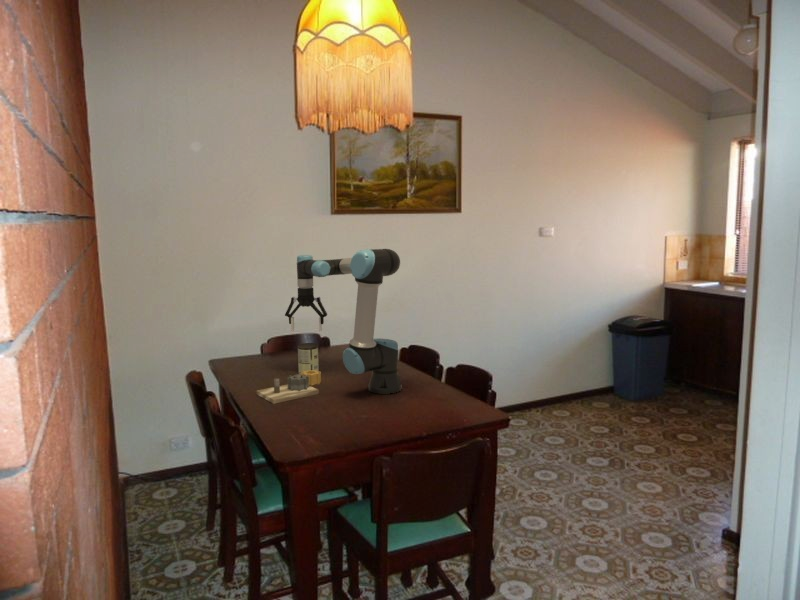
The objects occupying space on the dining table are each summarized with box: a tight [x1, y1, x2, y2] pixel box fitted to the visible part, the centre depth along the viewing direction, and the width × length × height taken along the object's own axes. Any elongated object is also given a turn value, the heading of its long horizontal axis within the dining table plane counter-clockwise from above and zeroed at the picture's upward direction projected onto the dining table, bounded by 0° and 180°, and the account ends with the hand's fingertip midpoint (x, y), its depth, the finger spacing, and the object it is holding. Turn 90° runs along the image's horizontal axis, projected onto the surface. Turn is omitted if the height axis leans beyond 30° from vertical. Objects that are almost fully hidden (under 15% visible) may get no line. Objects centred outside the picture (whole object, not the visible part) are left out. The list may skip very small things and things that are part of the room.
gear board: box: [256, 373, 320, 405], centre depth 255 cm, size 16×22×8 cm
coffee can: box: [297, 342, 320, 375], centre depth 289 cm, size 10×10×14 cm
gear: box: [301, 370, 322, 387], centre depth 273 cm, size 9×9×5 cm
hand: (306, 330), depth 281 cm, fingers open, 13 cm apart
